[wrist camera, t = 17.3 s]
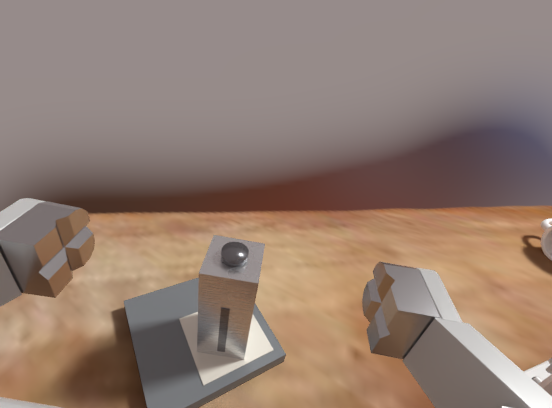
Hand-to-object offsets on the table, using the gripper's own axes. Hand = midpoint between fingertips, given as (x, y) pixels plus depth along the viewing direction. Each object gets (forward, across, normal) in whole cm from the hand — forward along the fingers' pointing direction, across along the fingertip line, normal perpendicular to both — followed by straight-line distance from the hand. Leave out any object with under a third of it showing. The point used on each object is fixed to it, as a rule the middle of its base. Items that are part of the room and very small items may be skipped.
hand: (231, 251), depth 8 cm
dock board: (+13, +4, +27) cm, 30 cm away
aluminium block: (+13, +2, +25) cm, 28 cm away
